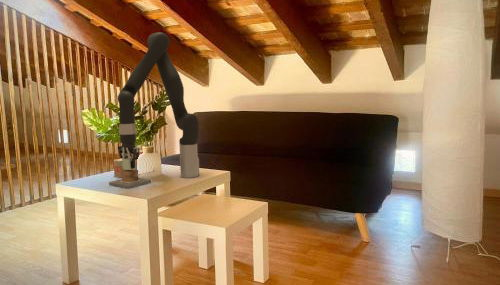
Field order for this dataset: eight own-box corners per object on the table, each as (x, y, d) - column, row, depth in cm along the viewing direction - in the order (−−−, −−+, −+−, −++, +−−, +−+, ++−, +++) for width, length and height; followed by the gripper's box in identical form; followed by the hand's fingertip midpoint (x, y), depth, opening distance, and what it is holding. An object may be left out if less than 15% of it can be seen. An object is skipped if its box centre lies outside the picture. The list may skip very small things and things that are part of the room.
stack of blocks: (121, 178, 205) (119, 155, 203) (114, 177, 209) (112, 154, 207) (154, 171, 222) (153, 150, 220) (147, 170, 226) (146, 149, 224)
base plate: (132, 179, 202) (132, 176, 202) (151, 182, 194) (151, 179, 194) (109, 185, 191) (109, 181, 190) (128, 188, 183) (127, 185, 183)
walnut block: (131, 179, 196) (130, 169, 195) (138, 180, 193) (138, 170, 192) (122, 181, 191) (121, 171, 191) (129, 182, 188) (128, 172, 188)
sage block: (130, 167, 194) (129, 157, 194) (136, 168, 192) (135, 158, 191) (122, 168, 191) (122, 158, 190) (128, 169, 188) (128, 159, 188)
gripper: (143, 133, 188) (145, 168, 190) (124, 131, 196) (126, 165, 198) (131, 134, 182) (133, 170, 184) (111, 133, 190) (113, 167, 192)
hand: (129, 167), depth 191 cm, fingers closed on sage block, 4 cm apart
